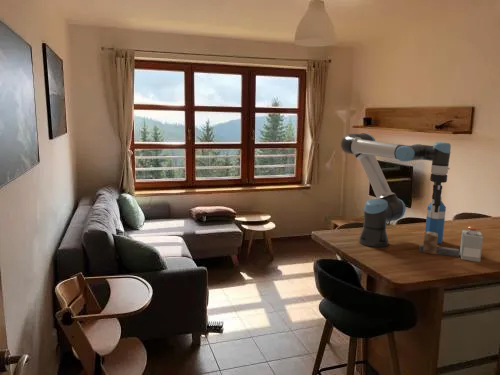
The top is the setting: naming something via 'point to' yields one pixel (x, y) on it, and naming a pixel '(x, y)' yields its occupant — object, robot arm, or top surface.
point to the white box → (471, 246)
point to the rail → (443, 250)
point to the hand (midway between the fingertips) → (434, 215)
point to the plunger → (472, 230)
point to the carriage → (430, 242)
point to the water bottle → (436, 221)
